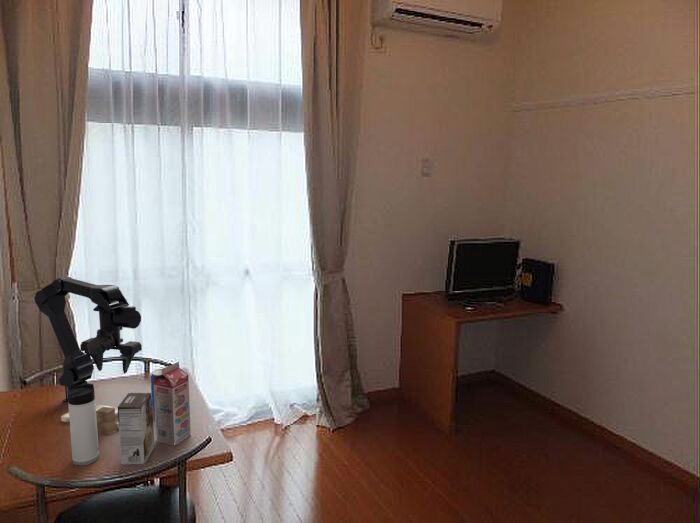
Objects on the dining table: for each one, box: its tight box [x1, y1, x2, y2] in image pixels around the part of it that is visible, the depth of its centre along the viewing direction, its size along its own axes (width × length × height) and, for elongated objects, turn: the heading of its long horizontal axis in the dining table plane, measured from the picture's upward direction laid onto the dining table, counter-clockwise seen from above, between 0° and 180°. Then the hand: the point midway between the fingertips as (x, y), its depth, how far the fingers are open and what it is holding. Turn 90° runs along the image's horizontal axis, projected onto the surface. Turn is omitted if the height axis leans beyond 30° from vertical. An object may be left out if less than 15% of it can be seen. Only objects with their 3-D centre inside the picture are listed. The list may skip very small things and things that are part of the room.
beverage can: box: [150, 368, 162, 409], centre depth 170 cm, size 6×6×12 cm
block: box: [96, 407, 118, 436], centre depth 157 cm, size 4×12×7 cm, turn 167°
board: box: [60, 404, 119, 430], centre depth 162 cm, size 22×10×2 cm, turn 77°
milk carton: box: [153, 361, 192, 447], centre depth 149 cm, size 7×7×22 cm
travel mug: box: [67, 382, 100, 466], centre depth 137 cm, size 6×7×20 cm
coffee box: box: [116, 392, 155, 465], centre depth 140 cm, size 9×6×16 cm
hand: (112, 371), depth 169 cm, fingers open, 9 cm apart
